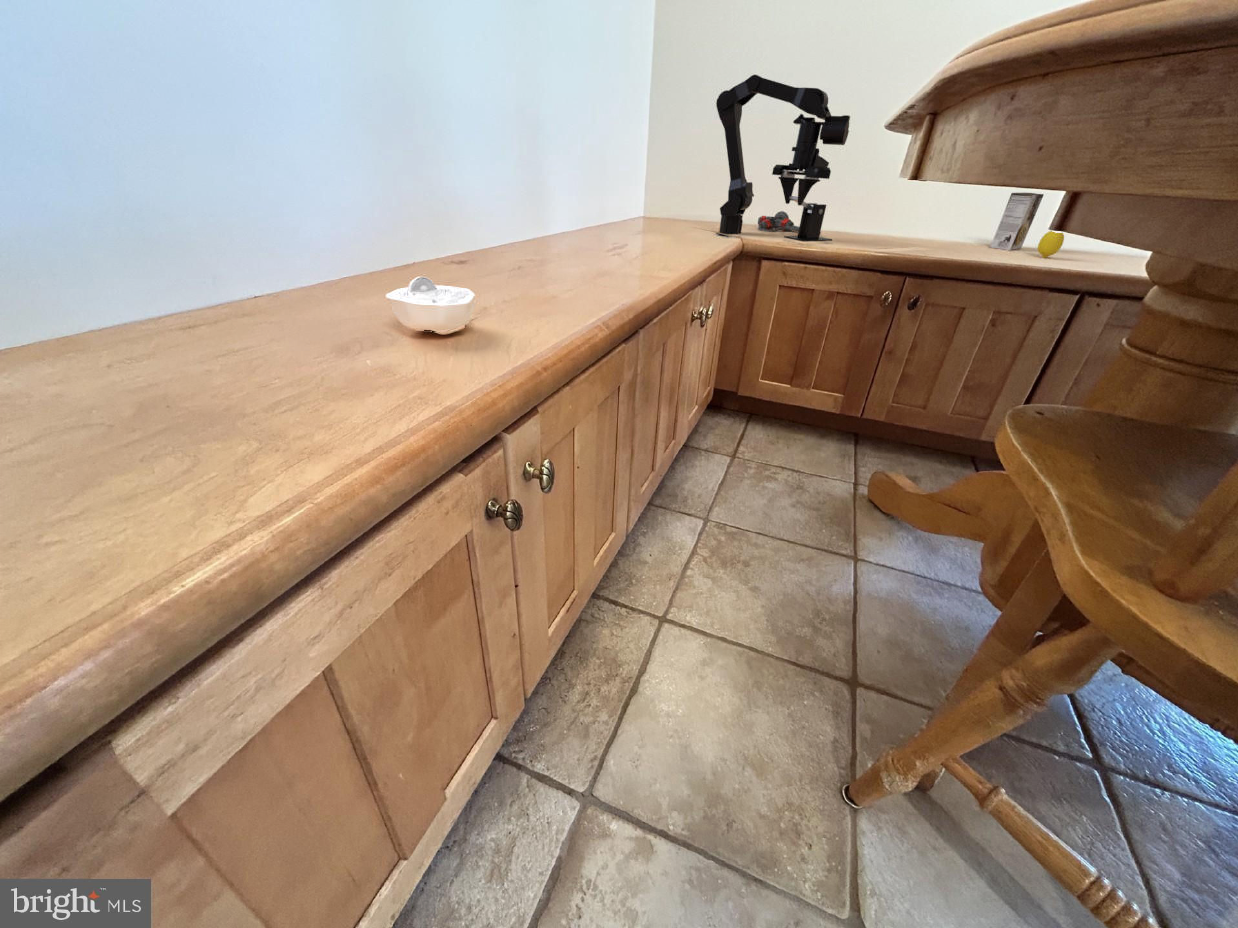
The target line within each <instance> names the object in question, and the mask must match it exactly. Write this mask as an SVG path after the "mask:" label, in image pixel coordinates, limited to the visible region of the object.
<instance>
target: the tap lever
mask: <svg viewBox="0 0 1238 928" xmlns="http://www.w3.org/2000/svg"><path fill="white" fill-rule="evenodd" d="M788 200H790V202H796V203H797V204H798V196H795V195H792V196H789V197H788ZM801 207H802V208H803V207H805V208H807V209H808V211H807V213H809V214H810V215H811V214H812V209H813V205H809V204H807V202H806V201H805V200H804V201H803V203H802V205H801Z"/></svg>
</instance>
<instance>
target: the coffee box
mask: <svg viewBox="0 0 1238 928" xmlns="http://www.w3.org/2000/svg"><path fill="white" fill-rule="evenodd" d="M1043 197H1044V194H1043V193H1036V192H1011V194H1010V196H1009V199H1008V201H1007V203H1006V205H1005V206H1006V207H1005V210H1004V211H1003V214H1002V217H1001V219H1000V221H999V224H998V226H997V229H996V231H995V234H994V236H993V238H992V241H991V244H990V247H989V248H990V249H991V248H993V249H998V250H1007V251H1013V250H1018V249H1022V248H1023V245H1024V243H1025V240H1026V238H1027V236H1028V234H1029V230H1030V229H1031V227H1032V224H1033V221H1034V219H1035V217H1036V214H1037V212H1038V210H1039V208H1040V204H1041V202H1042V200H1043Z"/></svg>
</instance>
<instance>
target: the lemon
mask: <svg viewBox="0 0 1238 928" xmlns="http://www.w3.org/2000/svg"><path fill="white" fill-rule="evenodd" d="M1064 241H1065V235H1064V233H1063V232H1062V233H1055V232H1052V230H1050V231H1048V232H1046V233H1045V234H1043V236H1042V237H1041V239H1039V242H1038V244H1037V252H1038V253H1039V254H1040V255H1041V256H1042V258H1043V259H1046V258H1048V257H1049V256H1050V257H1051V256H1053V255H1055V254H1056V253H1058V252H1059V251H1060V249H1061V248H1062V247H1063V245H1064Z"/></svg>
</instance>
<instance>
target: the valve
mask: <svg viewBox="0 0 1238 928" xmlns="http://www.w3.org/2000/svg"><path fill="white" fill-rule="evenodd" d="M757 225H758V226H757V230H758V231H760V232H767V233H776V232H779V231H782V232H792V231H794V232H798V231H799V227H800V226H797V225H795V223H794V221H792V220H791V219H790V217H789V215H788V213H787V212H785V211H783V210H781V211H777V213H776V214H775V215H774V216H767V215H761V216H759V217H758V218H757ZM821 233H822V232H821V231H820V235H821Z"/></svg>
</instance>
